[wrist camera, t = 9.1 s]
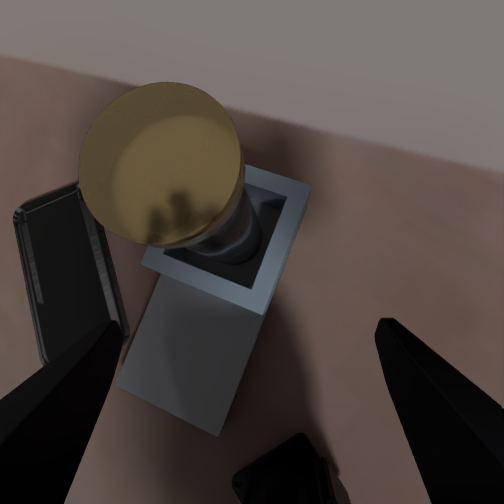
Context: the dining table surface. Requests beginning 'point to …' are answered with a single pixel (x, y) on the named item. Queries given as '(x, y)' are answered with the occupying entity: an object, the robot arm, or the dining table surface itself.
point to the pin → (170, 173)
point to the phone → (66, 270)
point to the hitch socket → (211, 312)
